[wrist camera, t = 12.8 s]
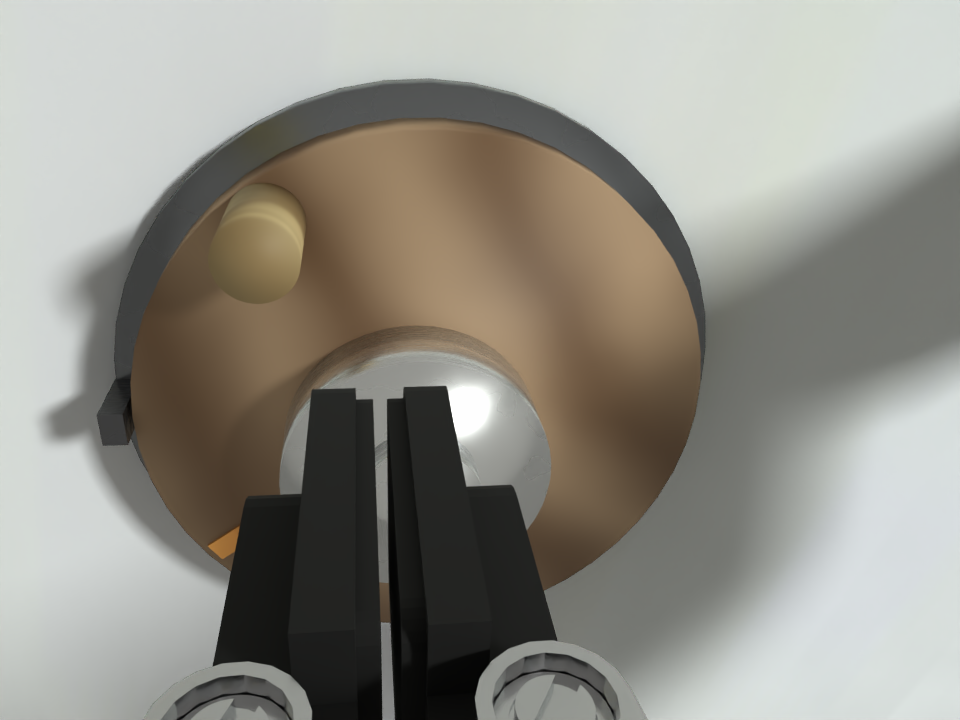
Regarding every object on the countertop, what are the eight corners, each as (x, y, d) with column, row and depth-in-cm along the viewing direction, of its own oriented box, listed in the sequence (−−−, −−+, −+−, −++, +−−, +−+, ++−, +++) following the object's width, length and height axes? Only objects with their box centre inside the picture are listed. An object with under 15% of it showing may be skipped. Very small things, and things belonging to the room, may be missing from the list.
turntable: (510, -17, 24) (547, -2, 20) (762, 429, 34) (827, 509, 29) (12, 342, 28) (-56, 427, 23) (368, 660, 37) (371, 766, 32)
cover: (444, 275, 27) (459, 327, 23) (579, 453, 31) (608, 519, 27) (229, 421, 28) (213, 491, 25) (386, 573, 32) (391, 650, 29)
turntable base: (748, 87, 28) (792, 105, 25) (653, 575, 38) (677, 626, 36) (67, 68, 25) (31, 86, 22) (162, 606, 35) (146, 665, 32)
